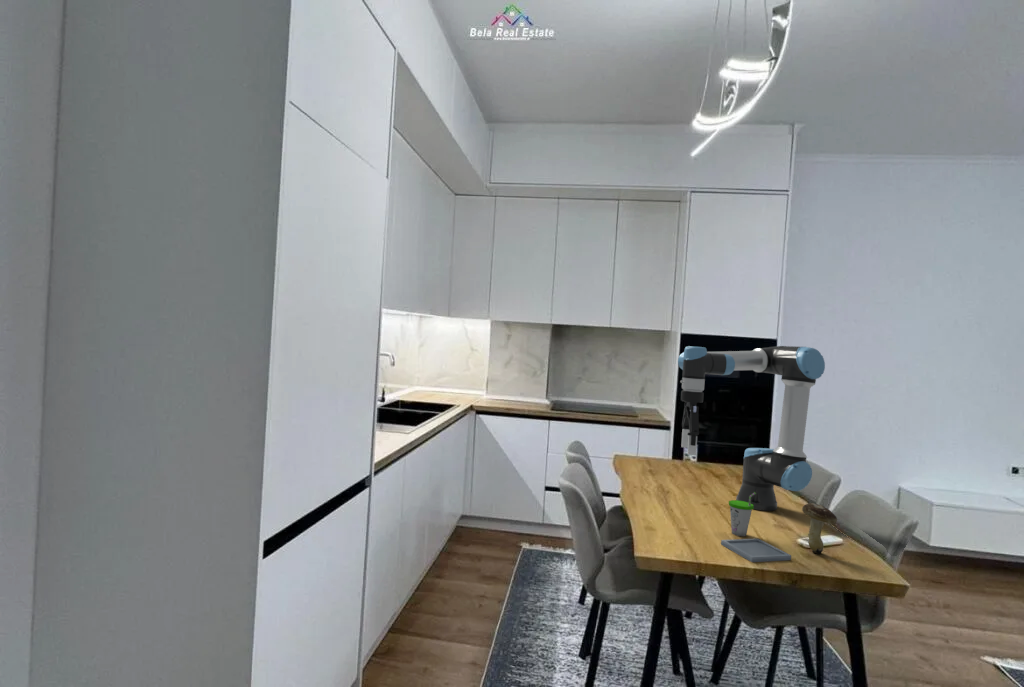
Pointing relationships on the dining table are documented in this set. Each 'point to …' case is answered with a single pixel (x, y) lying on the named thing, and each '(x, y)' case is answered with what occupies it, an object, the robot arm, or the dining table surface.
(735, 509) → the cup
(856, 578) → the dining table surface
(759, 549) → the tray
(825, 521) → the mushroom
